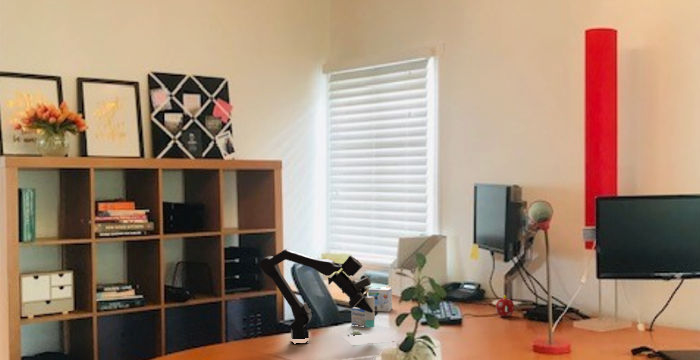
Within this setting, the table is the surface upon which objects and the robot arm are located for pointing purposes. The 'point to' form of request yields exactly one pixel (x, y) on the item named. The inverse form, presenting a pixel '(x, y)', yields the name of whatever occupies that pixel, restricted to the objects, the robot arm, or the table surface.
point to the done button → (356, 332)
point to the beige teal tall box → (369, 316)
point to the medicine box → (358, 317)
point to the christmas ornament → (505, 307)
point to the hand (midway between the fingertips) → (373, 310)
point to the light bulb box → (381, 298)
